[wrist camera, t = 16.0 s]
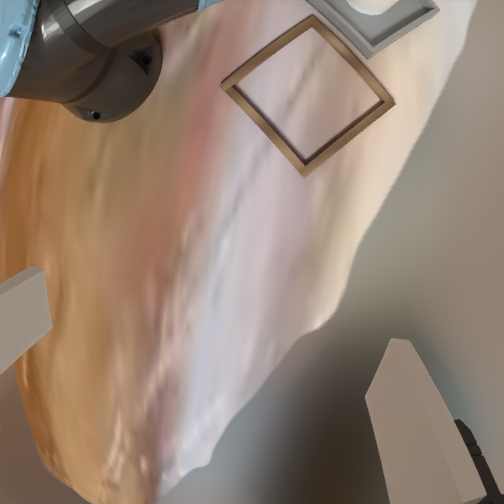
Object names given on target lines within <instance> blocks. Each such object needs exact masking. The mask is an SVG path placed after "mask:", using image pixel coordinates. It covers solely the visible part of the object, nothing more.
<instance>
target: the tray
mask: <svg viewBox="0 0 504 504" xmlns="http://www.w3.org/2000/svg"><path fill="white" fill-rule="evenodd" d="M305 1H307V2H308V3H309V4H310V5H311V6H313V7H314V8H315V9H316V10H317V11H318V12H319V13H321V14H322V15H323V16H324V17H325V18H326V19H327V20H328V21H329V22H331V23H332V24H333V25H334V26H335V27H336V28H337V29H338V30H339V31H340V32H341V33H342V34H343V35H344V36H345V37H346V38H347V39H348V40H349V41H350V42H351V43H352V44H353V45H354V46H355V47H356V48H357V49H358V50H359V51H360V52H361V53H362V54H363V55H364V56H365V57H366V59H367V60H368V59H370V58H371V57H373V56H374V55H375V54H377V53H378V52H380V51H381V50H383V49H384V48H386V47H387V46H388V45H390V44H391V43H393V42H394V41H396V40H397V39H399V38H400V37H402V36H403V35H405V34H406V33H408V32H410V31H411V30H413V29H414V28H416V27H417V26H419V25H420V24H422V23H424V22H425V21H427V20H429V19H430V18H432V17H433V16H434V15H436V14H437V13H438V12H439V11H440V9H439V8H438V7H437V6H436V5H435V4H434V2H433V1H432V0H399V1H398V2H397V3H395V4H394V5H393V6H392V7H390V8H389V9H388V10H387V11H385V12H383V13H382V14H379V15H368V14H365V13H361V12H359V11H357V10H356V9H354V8H353V7H351V6H350V5H349V3H348V2H347V1H346V0H305Z"/></svg>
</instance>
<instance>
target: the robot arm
mask: <svg viewBox="0 0 504 504" xmlns="http://www.w3.org/2000/svg"><path fill="white" fill-rule="evenodd" d="M221 1H224V0H0V98H2V97H15V98H25V99H34V100H41V101H48V102H56V103H60V104H62V105H63V106H64V107H65V108H67V109H68V110H69V111H70V112H71V113H73V114H74V115H75V116H77V117H78V118H80V119H82V120H85V121H89V122H96V123H109V122H114V121H117V120H119V119H122V118H124V117H126V116H127V115H129V114H131V113H132V112H133V111H135V110H136V109H137V108H138V107H139V106H140V105H141V104H142V103H143V102H144V101H145V100H146V98H147V97H148V96H149V94H150V93H151V91H152V90H153V88H154V86H155V84H156V82H157V79H158V77H159V74H160V70H161V63H162V54H161V48H160V45H159V42H158V40H157V38H156V37H155V36H154V34H153V33H152V32H151V31H150V30H152V29H155V28H157V27H159V26H161V25H164V24H166V23H169V22H171V21H173V20H176V19H178V18H181V17H183V16H186V15H189V14H191V13H194V12H196V13H199V12H201V11H202V10H203V9H204V8H206V7H208V6H211V5H213V4H216V3H219V2H221ZM51 329H53V328H52V323H51V317H50V311H49V304H48V297H47V290H46V281H45V272H44V269H40V268H37V267H34V266H31V267H29V268H27V269H25V270H24V271H22V272H20V273H18V274H16V275H14V276H12V277H11V278H9V279H7V280H5V281H3V282H2V283H0V374H1V373H3V372H4V371H5V370H6V369H7V368H8V367H9V366H10V365H11V364H12V363H14V362H15V361H16V360H17V359H18V358H19V357H20V356H21V355H22V354H24V353H25V352H26V351H27V350H28V349H29V348H30V347H32V346H33V345H34V344H35V343H36V342H37V341H38V340H40V339H41V338H42V337H43V336H44V335H45V334H47V333H48V332H49V331H50V330H51ZM365 399H366V403H367V406H368V410H369V414H370V418H371V421H372V425H373V429H374V433H375V437H376V441H377V445H378V449H379V454H380V458H381V462H382V467H383V471H384V475H385V480H386V485H387V490H388V495H389V499H390V504H504V494H503V495H501V493H500V491H499V489H498V487H497V484H496V482H495V480H494V478H493V476H492V473H491V471H490V469H489V467H488V465H487V463H486V460H485V458H484V456H482V455H481V454H482V452H481V450H480V448H479V446H478V445H477V442H476V440H475V438H474V436H473V434H472V432H471V430H470V429H469V428H468V427H467V426H466V425H465V424H464V423H463V422H462V421H461V420H460V419H459V420H453V418H452V416H451V414H450V412H449V410H448V409H447V407H446V405H445V403H444V401H443V399H442V397H441V395H440V393H439V391H438V390H437V388H436V386H435V384H434V382H433V381H432V379H431V377H430V375H429V373H428V372H427V370H426V368H425V366H424V364H423V363H422V361H421V359H420V358H419V356H418V354H417V353H416V351H415V349H414V347H413V346H412V344H411V342H410V341H409V340H402V339H392V338H391V339H390V342H389V344H388V347H387V349H386V351H385V354H384V356H383V359H382V361H381V363H380V365H379V368H378V370H377V372H376V374H375V376H374V379H373V381H372V383H371V385H370V388H369V389H368V392H367V394H366V396H365Z"/></svg>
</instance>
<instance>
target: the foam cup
mask: <svg viewBox="0 0 504 504" xmlns="http://www.w3.org/2000/svg"><path fill="white" fill-rule="evenodd" d="M346 1H347V2H348V3H349V5H350V6H351V7H353V8H354V9H356V10H357V11H359V12H361V13H365V14H368V15H379V14H382V13H383V12H385V11H387V10H388V9H389V8H390V7H392V6H393V5H394V4H395V3H397V2H398V1H399V0H346Z"/></svg>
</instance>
